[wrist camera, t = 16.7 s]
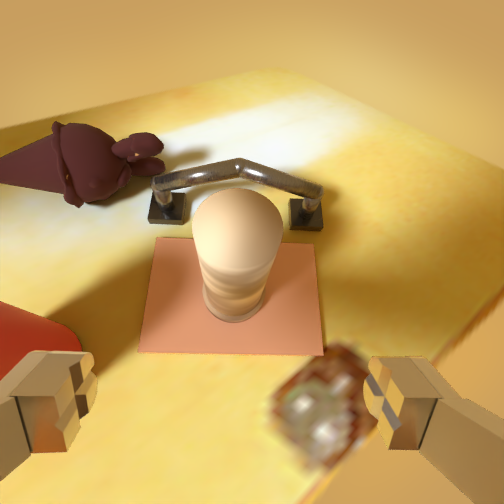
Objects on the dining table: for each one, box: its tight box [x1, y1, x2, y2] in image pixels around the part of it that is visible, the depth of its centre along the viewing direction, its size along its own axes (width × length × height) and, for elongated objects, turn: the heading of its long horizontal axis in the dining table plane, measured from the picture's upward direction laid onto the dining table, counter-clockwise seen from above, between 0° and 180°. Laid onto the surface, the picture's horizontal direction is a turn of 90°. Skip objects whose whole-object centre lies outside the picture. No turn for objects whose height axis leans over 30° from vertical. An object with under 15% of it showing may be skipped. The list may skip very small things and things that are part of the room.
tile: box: [138, 237, 324, 356], centre depth 24 cm, size 14×10×1 cm
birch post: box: [192, 188, 283, 323], centre depth 19 cm, size 5×5×11 cm
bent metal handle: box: [148, 158, 324, 231], centre depth 25 cm, size 16×3×7 cm, turn 90°
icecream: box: [0, 121, 165, 208], centre depth 25 cm, size 7×7×15 cm
